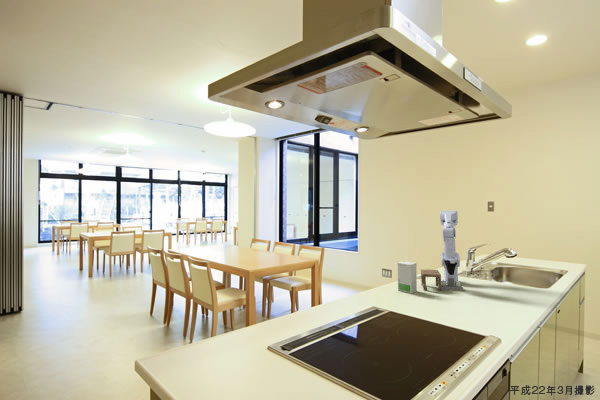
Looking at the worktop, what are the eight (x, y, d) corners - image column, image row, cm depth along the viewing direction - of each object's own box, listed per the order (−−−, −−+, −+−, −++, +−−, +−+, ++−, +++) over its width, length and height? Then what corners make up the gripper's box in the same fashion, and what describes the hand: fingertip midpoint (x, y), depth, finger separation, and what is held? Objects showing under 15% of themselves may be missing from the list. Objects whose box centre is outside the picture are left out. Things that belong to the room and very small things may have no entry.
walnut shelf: (421, 284, 186) (420, 269, 186) (438, 285, 183) (437, 269, 184) (423, 290, 174) (423, 274, 174) (441, 291, 172) (440, 274, 172)
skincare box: (397, 290, 175) (396, 262, 176) (403, 288, 180) (402, 260, 180) (411, 293, 169) (410, 264, 169) (417, 291, 174) (416, 262, 174)
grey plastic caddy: (439, 288, 180) (439, 276, 180) (460, 288, 177) (460, 277, 177) (440, 290, 175) (440, 278, 175) (462, 290, 172) (462, 278, 172)
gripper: (439, 247, 184) (440, 271, 184) (444, 251, 170) (445, 276, 170) (453, 247, 182) (454, 271, 182) (458, 251, 168) (459, 277, 168)
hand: (450, 274), depth 176 cm, fingers open, 3 cm apart
